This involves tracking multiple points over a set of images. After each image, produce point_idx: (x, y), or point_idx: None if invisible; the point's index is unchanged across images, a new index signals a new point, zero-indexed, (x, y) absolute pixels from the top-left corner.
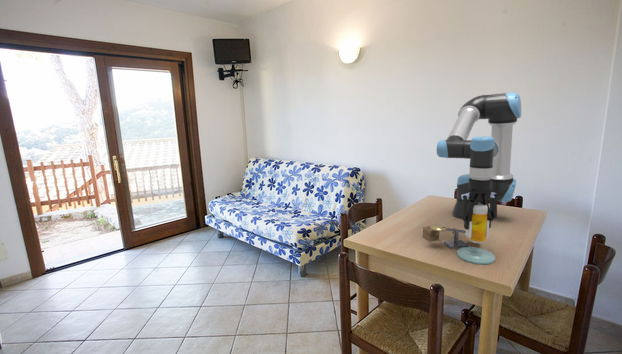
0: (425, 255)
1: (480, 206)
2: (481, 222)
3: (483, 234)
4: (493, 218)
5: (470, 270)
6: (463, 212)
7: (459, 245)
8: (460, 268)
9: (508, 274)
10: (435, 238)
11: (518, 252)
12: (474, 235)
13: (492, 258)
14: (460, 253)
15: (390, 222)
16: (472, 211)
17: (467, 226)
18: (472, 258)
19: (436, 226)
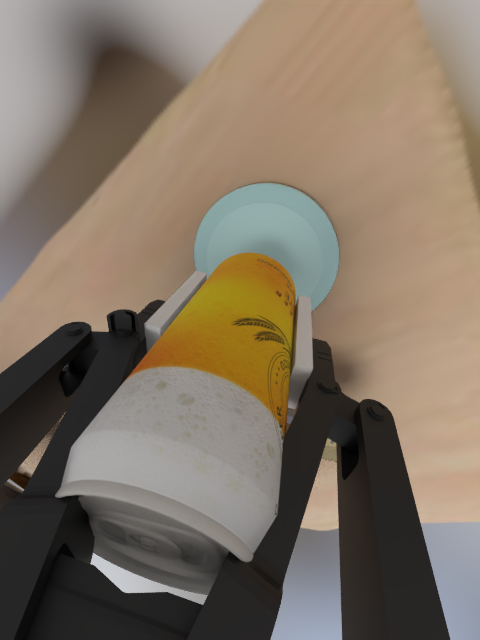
0: (443, 341)
1: (191, 505)
2: (240, 318)
3: (239, 268)
4: (95, 332)
5: (400, 154)
6: (410, 492)
7: None
8: (425, 190)
9: (261, 46)
10: (295, 409)
11: (88, 231)
12: (288, 291)
13: (228, 203)
14: (318, 290)
15: (323, 516)
16: (288, 462)
17: (320, 353)
18: (314, 232)
19: (336, 449)
